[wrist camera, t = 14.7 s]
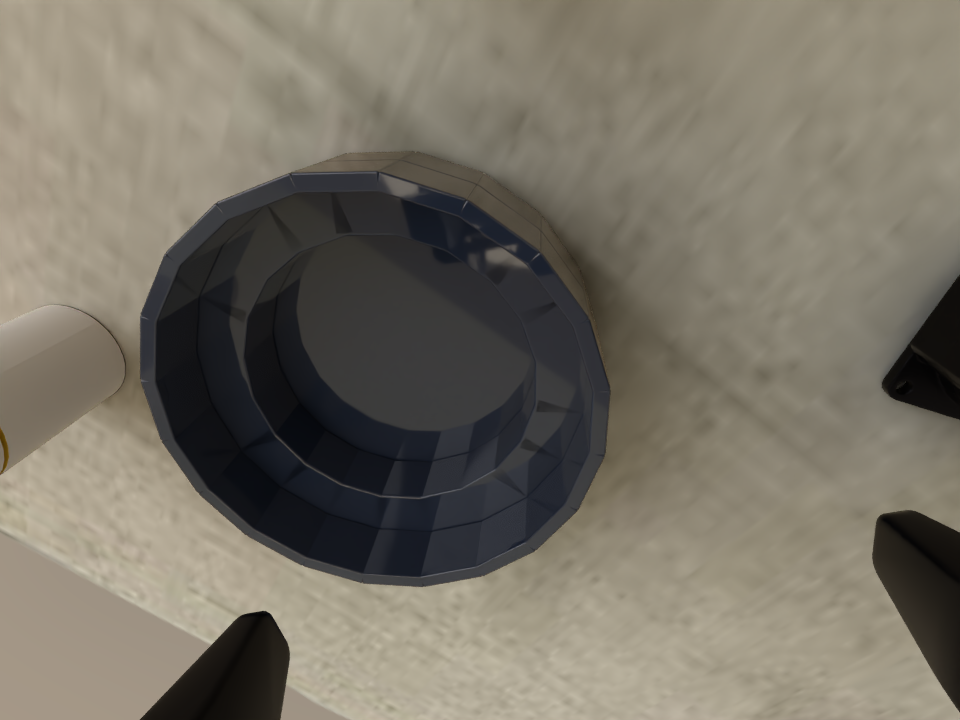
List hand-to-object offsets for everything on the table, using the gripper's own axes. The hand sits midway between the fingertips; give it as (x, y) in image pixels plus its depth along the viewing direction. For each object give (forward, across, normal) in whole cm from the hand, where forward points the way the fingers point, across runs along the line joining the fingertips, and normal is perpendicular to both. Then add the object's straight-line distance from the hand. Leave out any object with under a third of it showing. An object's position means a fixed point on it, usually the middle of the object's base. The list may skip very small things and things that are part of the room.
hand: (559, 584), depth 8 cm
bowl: (+13, +4, +1) cm, 14 cm away
